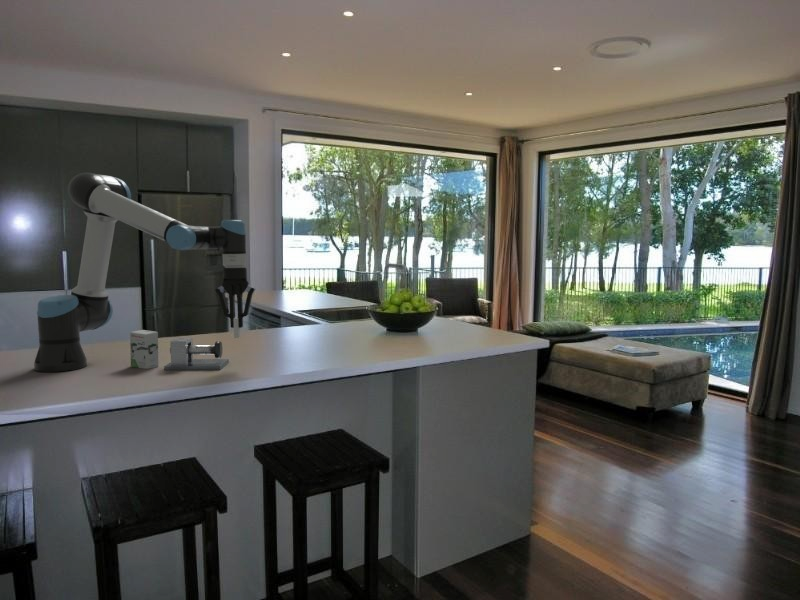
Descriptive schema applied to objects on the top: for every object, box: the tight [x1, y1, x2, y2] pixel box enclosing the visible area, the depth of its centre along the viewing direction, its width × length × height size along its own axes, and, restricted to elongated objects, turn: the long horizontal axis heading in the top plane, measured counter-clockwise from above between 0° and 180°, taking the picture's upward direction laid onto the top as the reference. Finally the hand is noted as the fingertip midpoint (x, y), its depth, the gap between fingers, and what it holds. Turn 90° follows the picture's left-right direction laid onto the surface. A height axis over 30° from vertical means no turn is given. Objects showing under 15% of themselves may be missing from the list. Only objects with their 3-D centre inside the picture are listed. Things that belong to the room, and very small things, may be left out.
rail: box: [163, 337, 230, 371], centre depth 201 cm, size 18×12×9 cm, turn 93°
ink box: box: [129, 329, 159, 370], centre depth 200 cm, size 9×5×12 cm, turn 60°
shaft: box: [169, 340, 223, 359], centre depth 201 cm, size 16×6×6 cm, turn 93°
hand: (237, 337), depth 201 cm, fingers closed
